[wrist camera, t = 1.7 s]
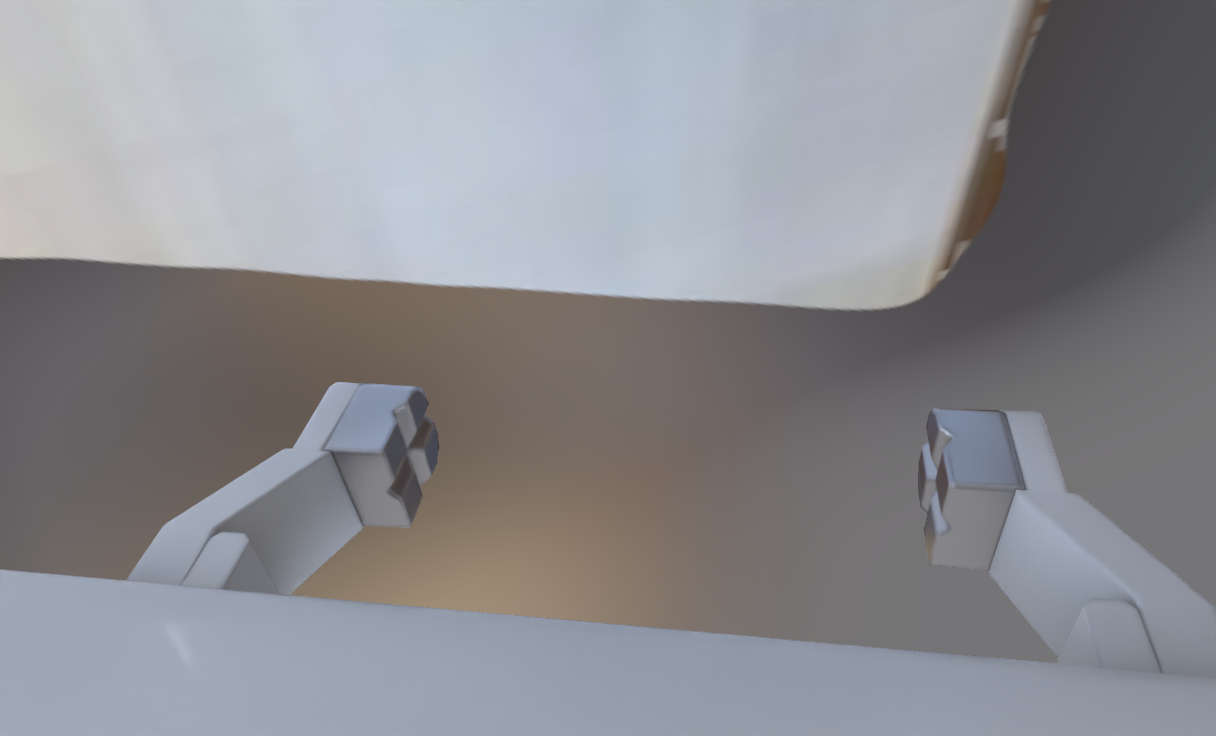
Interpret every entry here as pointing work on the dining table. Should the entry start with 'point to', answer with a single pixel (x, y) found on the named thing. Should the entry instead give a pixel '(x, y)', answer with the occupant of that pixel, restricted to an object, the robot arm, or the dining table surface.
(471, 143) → the dining table surface
